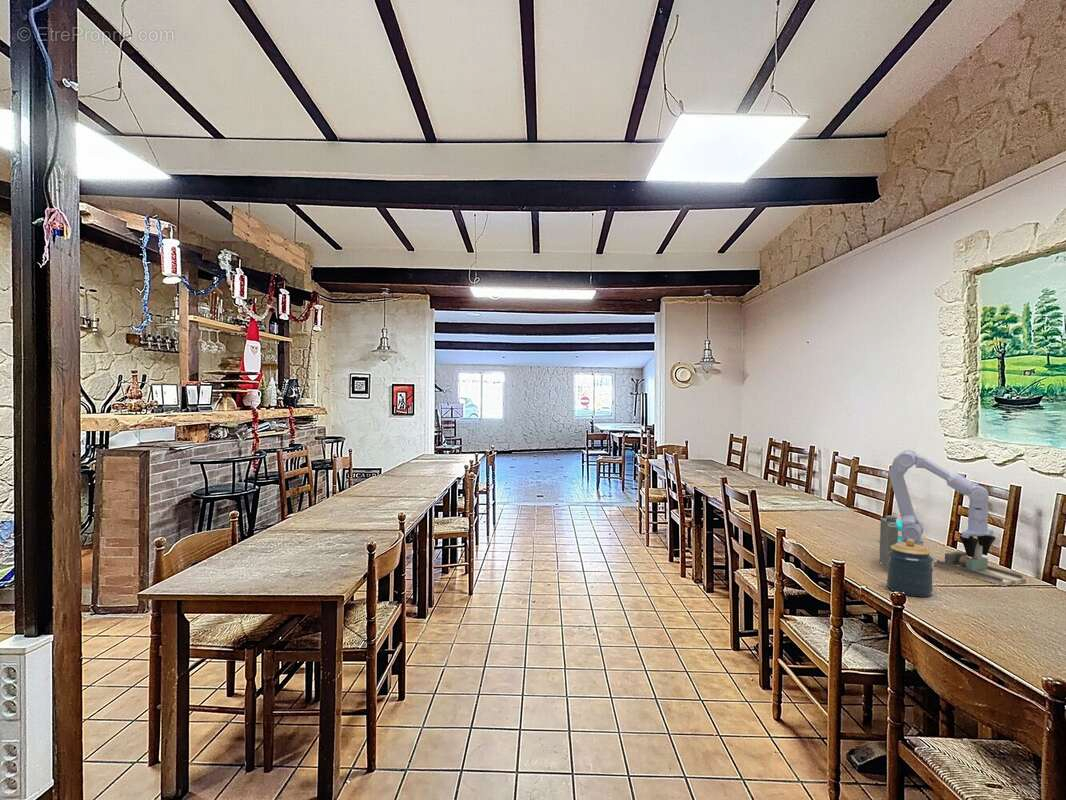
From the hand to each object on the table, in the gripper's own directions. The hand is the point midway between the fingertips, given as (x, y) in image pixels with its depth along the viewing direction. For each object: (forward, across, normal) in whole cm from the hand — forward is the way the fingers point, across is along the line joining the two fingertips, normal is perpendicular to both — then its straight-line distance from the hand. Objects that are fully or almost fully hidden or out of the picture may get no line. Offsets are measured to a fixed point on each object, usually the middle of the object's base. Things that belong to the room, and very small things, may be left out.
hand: (976, 555), depth 210 cm
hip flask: (+7, -25, +16) cm, 30 cm away
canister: (+7, -42, -4) cm, 43 cm away
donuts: (+7, +10, +40) cm, 41 cm away
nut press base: (+7, 0, 0) cm, 7 cm away
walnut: (+3, 0, +4) cm, 5 cm away
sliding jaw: (+5, 0, 0) cm, 5 cm away
